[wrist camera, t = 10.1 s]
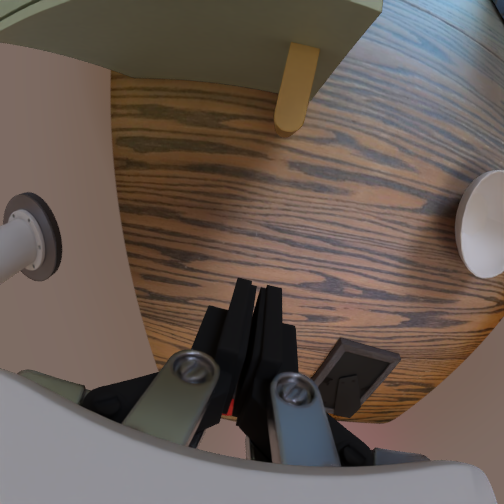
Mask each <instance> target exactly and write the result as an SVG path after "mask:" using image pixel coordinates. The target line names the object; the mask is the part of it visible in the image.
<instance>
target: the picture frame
mask: <svg viewBox="0 0 504 504" xmlns="http://www.w3.org/2000/svg"><path fill="white" fill-rule="evenodd" d="M400 360H401V358H400V355H399V354H397V353H393V352H390V351H386V350H382V349H379V348H375V347H371V346H368V345H364V344H361V343H357V342H354V341H350V340H347V339H344V338H340V339H339V341H338V342H337V343H336V345H335V346H334V348H333V349H332V351H331V352H330V354H329V355H328V356H327V358H326V359H325V361H324V362H323V363H322V365H321V366H320V368H319V369H318V370H317V372H316V373H315V374H314V376H313V377H312V378H311V380H312V381H313V382H314V383H315V384H316V385H317V387H318V389H319V391H320V394H321V398H322V401H323V404H324V408H325V411H326V413H331V414H334V415H337V416H342V417H348V418H350V417H351V416H352V415H353V414H354V413H356V412H357V411H358V410H359V408H360V407H361V405H362V404H363V403H364V401H365V400H366V399H367V398H368V397H369V396H370V395H371V394H372V393H373V392H374V391H375V390H376V389H377V387H378V386H379V385H380V384H381V383H382V382H383V381H384V380H385V378H386V377H387V376H388V375H389V374H390V373H391V371H392V370H393V369H394V368H395V367H396V365H397V364H398V363H399V362H400Z"/></svg>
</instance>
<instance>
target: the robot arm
mask: <svg viewBox="0 0 504 504" xmlns="http://www.w3.org/2000/svg"><path fill="white" fill-rule="evenodd" d="M44 258H45V243H44V238H43V234H42V231H41V229H40V226H39V225H38V223H37V221H36V220H35V218H34V217H33V216H32V215H31V214H30V213H29V212H28V211H26V210H23V209H20V210H17V211H15V212H13V213H12V214H11V216H10V217H9V220H8V223H6V224H4V225H2V226H0V284H2V283H3V282H5V281H6V280H7V279H9V278H10V277H12V276H13V275H15V274H16V273H18V272H19V271H21V270H22V269H24V268H26V269H28V270H36V269H38V268H39V267H40V266H41V265H42V264H43V261H44ZM251 284H252V281H250V280H246V279H242V278H238V279H237V282H236V286H235V289H234V293H233V296H232V300H231V303H230V306H229V310H225V309H221V308H217V307H214V306H210V305H209V306H208V309H207V311H206V314H205V316H204V318H203V321H202V323H201V326H200V328H199V331H198V333H197V336H196V338H195V341H194V343H193V346H192V348H191V350H182V351H179V352H177V353H174V354H173V355H172V356H171V357H170V358H169V360H168V361H167V362H166V364H165V365H164V366H163V368H162V369H161V370H160V372H157V373H153V374H150V375H146V376H142V377H139V378H135V379H131V380H127V381H123V382H120V383H115V384H111V385H107V386H102V387H99V388H96V389H93V390H92V391H91V390H87V389H85V386H84V385H80V384H76V383H73V382H69V381H66V380H62V379H59V378H55V377H52V376H49V375H46V374H43V373H40V372H37V371H33V370H23V371H20V372H19V373H17V374H16V373H13V372H10V371H7V370H4V369H1V368H0V504H497V501H496V498H495V495H494V492H493V489H492V487H491V485H490V482H489V480H488V478H487V476H486V475H485V473H484V472H483V471H482V470H481V469H479V468H478V467H476V466H474V465H471V464H467V463H462V462H458V461H446V460H434V461H430V459H428V458H427V457H426V456H424V455H421V454H415V453H406V452H400V451H393V450H387V449H380V448H374V449H373V450H370V448H369V447H368V446H367V445H366V444H365V443H364V442H362V441H361V440H360V439H359V438H357V437H356V436H355V435H353V434H352V433H351V432H350V431H348V430H347V429H346V428H344V427H343V426H342V425H341V424H340V423H339V422H337V421H336V420H335V419H334V418H332V417H331V416H330V415H329V414H328V413H326V411H325V408H324V404H323V401H322V398H321V394H320V391H319V389H318V387H317V385H316V384H315V383H314V382H313V381H312V380H311V379H310V378H308V377H307V376H305V375H302V374H300V373H298V357H297V341H296V328H295V326H293V325H289V324H284V323H282V288H278V287H274V286H270V285H267V287H266V288H262V287H261V289H260V292H259V295H258V299H257V302H256V306H255V309H254V313H253V308H254V301H255V294H256V288H257V286H254V285H251ZM252 314H253V316H252ZM236 386H237V388H236ZM235 389H236V393H235V399H234V405H233V410H232V416H235V417H237V422H236V426H239V427H240V429H241V430H242V431H243V432H244V433H245V434H246V439H245V445H246V446H245V447H246V459H240V458H235V457H229V456H225V455H220V454H216V453H211V452H207V451H203V450H199V449H198V447H199V445H200V443H201V441H202V439H203V436H204V434H205V431H206V429H207V428H209V427H211V426H213V425H215V424H218V423H219V422H220V418H221V415H222V414H226V415H227V413H228V410H229V407H230V404H231V401H232V398H233V395H234V392H235Z"/></svg>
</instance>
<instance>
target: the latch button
mask: <svg viewBox="0 0 504 504" xmlns="http://www.w3.org/2000/svg"><path fill="white" fill-rule="evenodd" d="M233 405H234V399H232V401H231V404H230V407H229V410H228V413H227V416H228V415H232V410H233ZM222 415H226V414H222Z"/></svg>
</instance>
